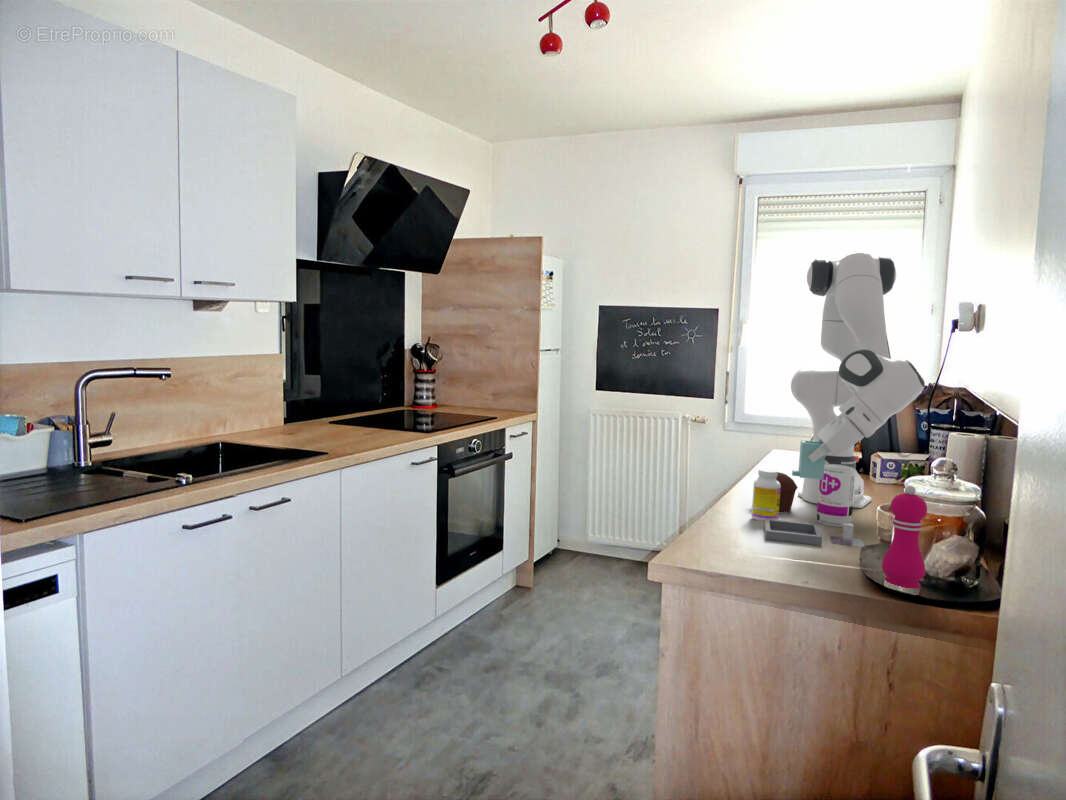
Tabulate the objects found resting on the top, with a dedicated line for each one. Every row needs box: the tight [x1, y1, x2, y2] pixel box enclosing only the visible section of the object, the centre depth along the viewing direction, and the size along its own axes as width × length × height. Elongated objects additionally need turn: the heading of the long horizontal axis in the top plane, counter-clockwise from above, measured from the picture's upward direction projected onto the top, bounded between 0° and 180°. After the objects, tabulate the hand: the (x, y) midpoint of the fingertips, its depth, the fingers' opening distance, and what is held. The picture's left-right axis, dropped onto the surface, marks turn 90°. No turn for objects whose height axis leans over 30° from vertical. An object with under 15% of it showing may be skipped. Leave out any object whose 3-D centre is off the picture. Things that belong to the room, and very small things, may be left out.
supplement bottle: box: [751, 468, 781, 522], centre depth 188 cm, size 7×7×13 cm
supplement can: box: [815, 464, 855, 528], centre depth 186 cm, size 8×8×15 cm
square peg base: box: [829, 523, 865, 548], centre depth 169 cm, size 7×7×4 cm
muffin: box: [757, 471, 798, 513], centre depth 201 cm, size 12×11×10 cm
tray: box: [764, 519, 823, 547], centre depth 171 cm, size 12×12×2 cm
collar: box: [791, 439, 825, 480], centre depth 169 cm, size 5×6×8 cm
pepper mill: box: [881, 485, 928, 589], centre depth 136 cm, size 7×7×20 cm
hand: (808, 457), depth 169 cm, fingers closed on collar, 5 cm apart
